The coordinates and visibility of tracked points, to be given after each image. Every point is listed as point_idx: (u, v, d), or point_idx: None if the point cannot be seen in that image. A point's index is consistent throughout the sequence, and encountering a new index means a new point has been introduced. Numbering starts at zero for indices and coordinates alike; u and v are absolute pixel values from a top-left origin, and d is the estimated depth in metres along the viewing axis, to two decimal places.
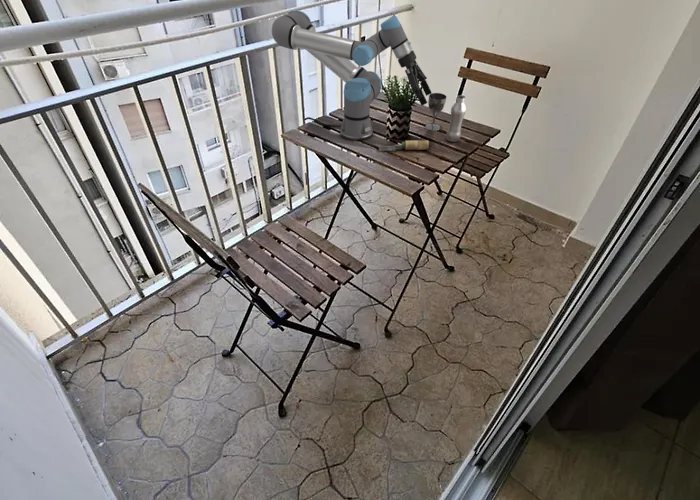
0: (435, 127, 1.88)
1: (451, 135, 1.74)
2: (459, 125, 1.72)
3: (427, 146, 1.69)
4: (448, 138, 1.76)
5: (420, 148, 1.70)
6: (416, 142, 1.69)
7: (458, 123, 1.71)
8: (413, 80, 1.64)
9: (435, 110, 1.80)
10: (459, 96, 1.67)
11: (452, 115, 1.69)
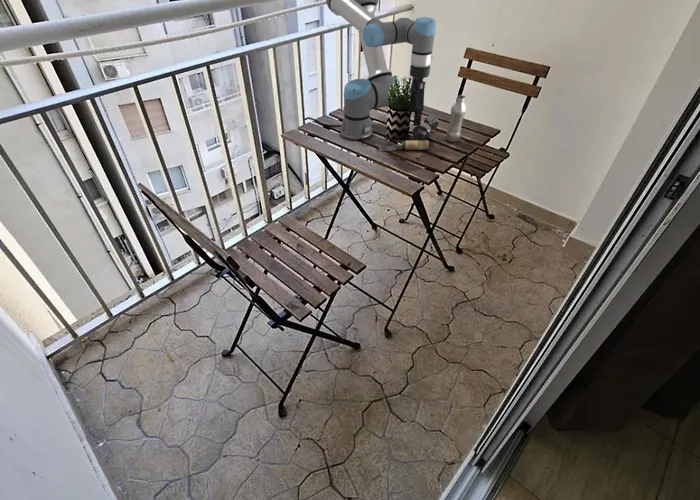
0: (433, 125, 1.84)
1: (451, 135, 1.74)
2: (459, 125, 1.72)
3: (427, 146, 1.69)
4: (448, 138, 1.76)
5: (420, 148, 1.70)
6: (416, 142, 1.69)
7: (458, 123, 1.71)
8: (422, 98, 1.49)
9: None
10: (459, 96, 1.67)
11: (452, 115, 1.69)
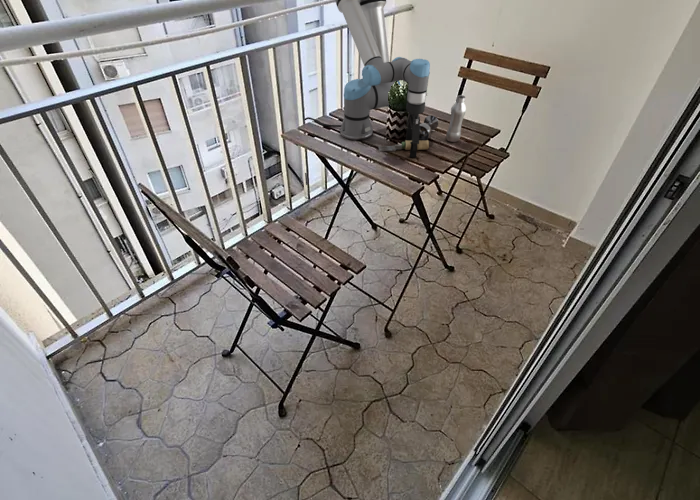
0: (433, 125, 1.84)
1: (451, 135, 1.74)
2: (459, 125, 1.72)
3: (427, 146, 1.69)
4: (448, 138, 1.76)
5: (420, 148, 1.70)
6: None
7: (458, 123, 1.71)
8: (418, 133, 1.58)
9: None
10: (459, 96, 1.67)
11: (452, 115, 1.69)
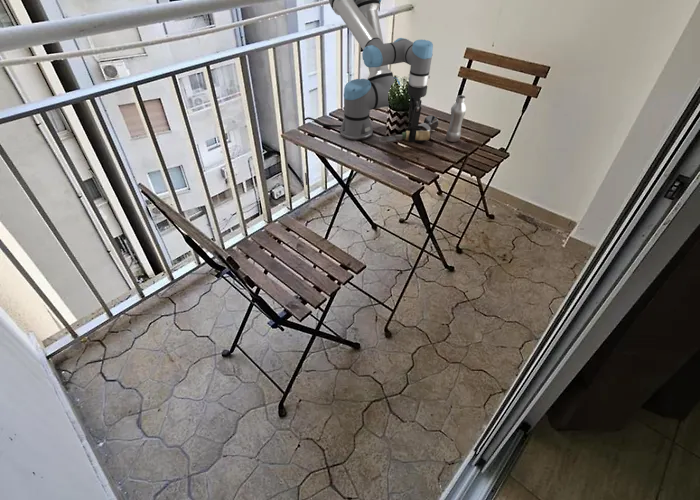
0: (433, 125, 1.84)
1: (451, 135, 1.74)
2: (459, 125, 1.72)
3: (428, 137, 1.67)
4: (448, 138, 1.76)
5: (421, 138, 1.67)
6: (417, 132, 1.66)
7: (458, 123, 1.71)
8: (417, 119, 1.57)
9: None
10: (459, 96, 1.67)
11: (452, 115, 1.69)
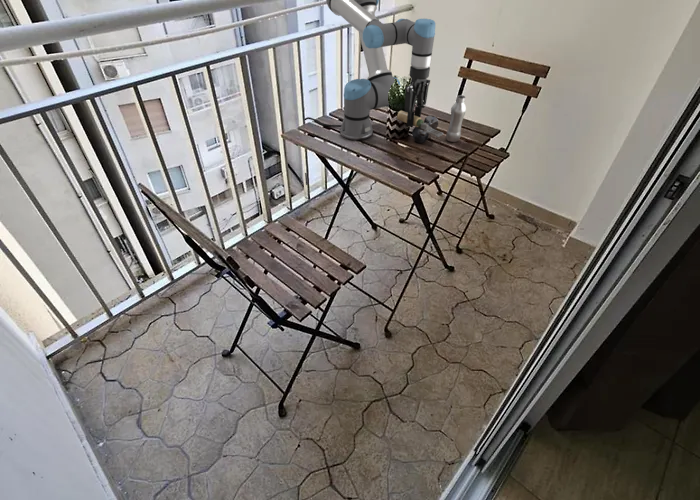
0: (433, 125, 1.84)
1: (451, 135, 1.74)
2: (459, 125, 1.72)
3: None
4: (448, 138, 1.76)
5: None
6: None
7: (458, 123, 1.71)
8: None
9: None
10: (459, 96, 1.67)
11: (452, 115, 1.69)
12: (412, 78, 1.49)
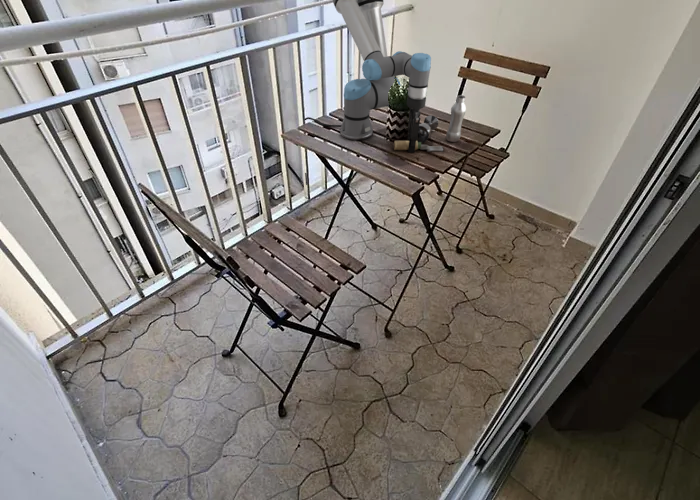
0: (433, 125, 1.84)
1: (451, 135, 1.74)
2: (459, 125, 1.72)
3: None
4: (448, 138, 1.76)
5: None
6: None
7: (458, 123, 1.71)
8: None
9: None
10: (459, 96, 1.67)
11: (452, 115, 1.69)
12: (416, 109, 1.56)
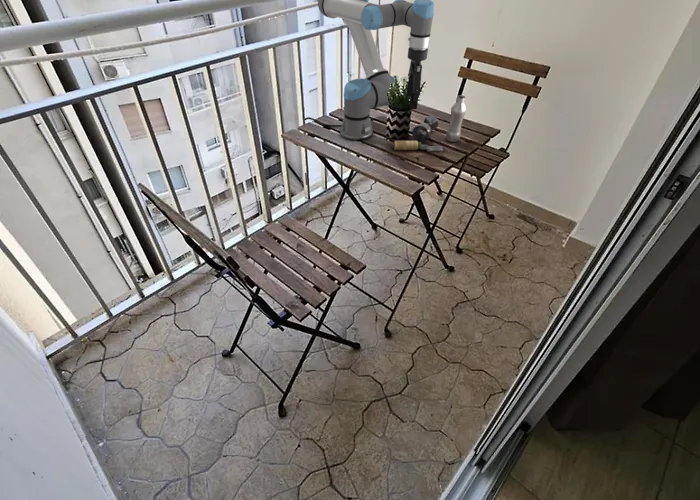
0: (433, 125, 1.84)
1: (451, 135, 1.74)
2: (459, 125, 1.72)
3: None
4: (448, 138, 1.76)
5: None
6: None
7: (458, 123, 1.71)
8: None
9: None
10: (459, 96, 1.67)
11: (452, 115, 1.69)
12: (417, 61, 1.49)
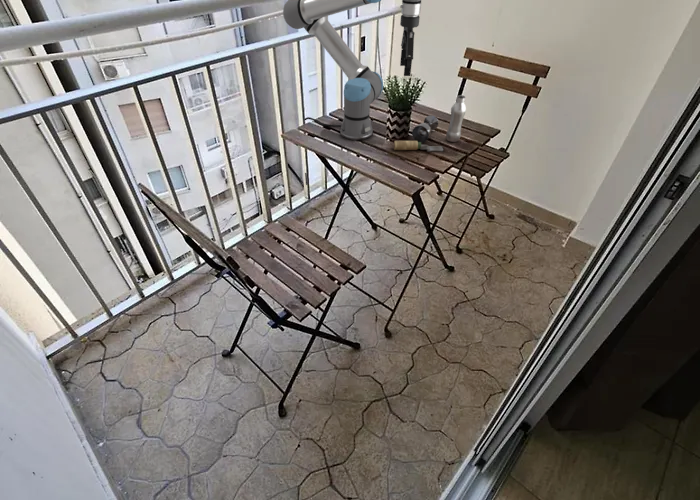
0: (433, 125, 1.84)
1: (451, 135, 1.74)
2: (459, 125, 1.72)
3: None
4: (448, 138, 1.76)
5: None
6: None
7: (458, 123, 1.71)
8: None
9: None
10: (459, 96, 1.67)
11: (452, 115, 1.69)
12: (409, 27, 1.55)
